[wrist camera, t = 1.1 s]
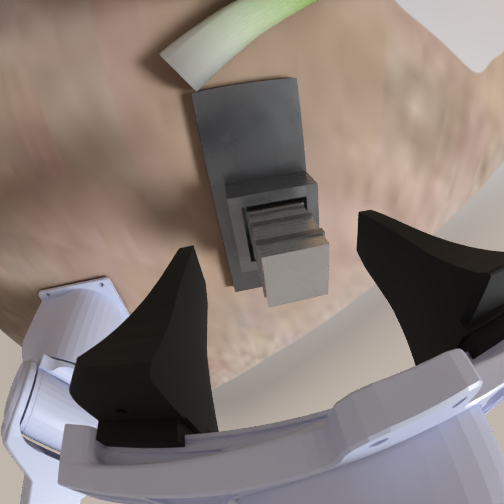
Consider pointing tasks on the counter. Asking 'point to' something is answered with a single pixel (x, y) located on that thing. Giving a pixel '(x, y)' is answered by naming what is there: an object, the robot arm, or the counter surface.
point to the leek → (224, 36)
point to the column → (288, 251)
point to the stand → (252, 160)
